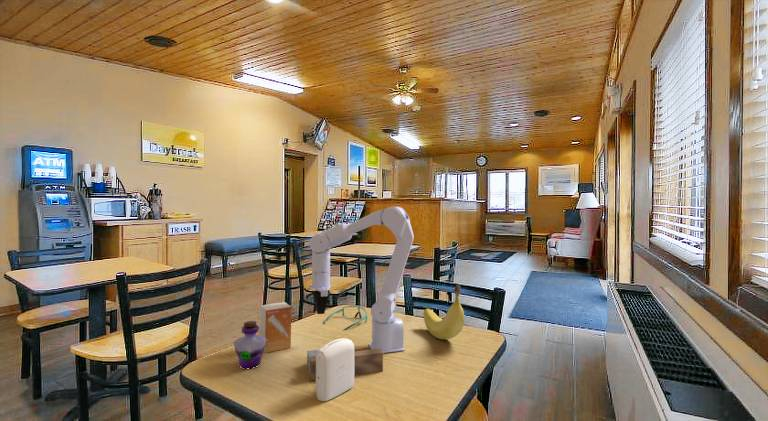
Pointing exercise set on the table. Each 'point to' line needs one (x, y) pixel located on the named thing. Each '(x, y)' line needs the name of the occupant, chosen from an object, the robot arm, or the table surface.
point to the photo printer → (334, 369)
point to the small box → (276, 326)
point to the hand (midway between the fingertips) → (320, 313)
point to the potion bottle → (250, 346)
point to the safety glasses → (347, 316)
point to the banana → (446, 320)
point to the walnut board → (358, 362)
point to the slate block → (309, 354)
